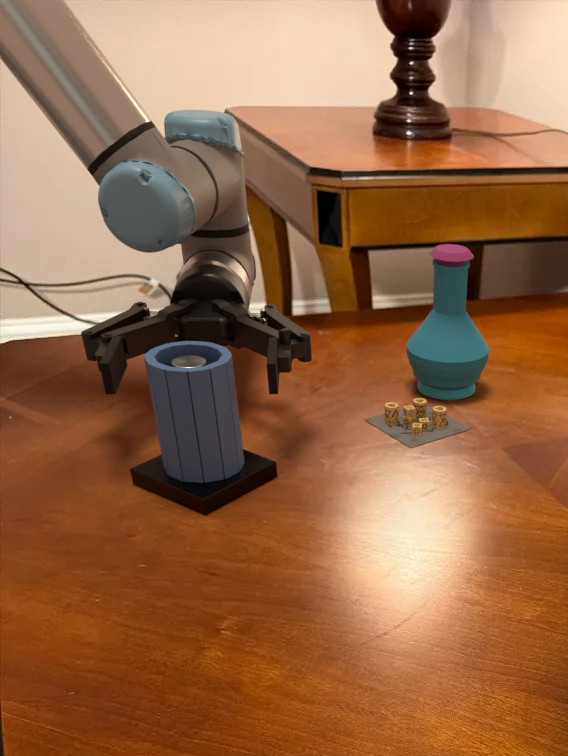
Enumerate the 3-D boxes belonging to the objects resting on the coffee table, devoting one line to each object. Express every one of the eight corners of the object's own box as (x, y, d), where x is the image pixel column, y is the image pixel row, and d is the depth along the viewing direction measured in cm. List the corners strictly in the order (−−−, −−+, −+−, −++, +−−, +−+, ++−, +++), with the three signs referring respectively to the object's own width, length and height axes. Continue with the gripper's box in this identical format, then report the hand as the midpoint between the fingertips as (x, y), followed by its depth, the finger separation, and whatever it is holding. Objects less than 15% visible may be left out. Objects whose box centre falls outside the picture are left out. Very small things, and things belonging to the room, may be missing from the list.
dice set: (381, 421, 91) (381, 404, 90) (420, 410, 94) (420, 393, 92) (411, 439, 88) (411, 421, 87) (449, 427, 91) (450, 410, 90)
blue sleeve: (148, 467, 77) (126, 356, 71) (205, 441, 82) (189, 335, 75) (203, 490, 74) (186, 377, 68) (259, 462, 79) (248, 354, 73)
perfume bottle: (438, 411, 94) (443, 265, 85) (390, 382, 99) (389, 242, 90) (502, 393, 99) (514, 254, 89) (453, 367, 104) (459, 233, 95)
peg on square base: (132, 483, 77) (107, 363, 71) (207, 448, 84) (190, 334, 77) (205, 515, 74) (186, 391, 67) (277, 476, 80) (267, 359, 73)
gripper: (334, 337, 95) (340, 419, 78) (93, 335, 91) (46, 421, 74) (331, 265, 90) (336, 336, 74) (77, 259, 86) (23, 334, 70)
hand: (190, 379), depth 74 cm, fingers open, 13 cm apart
